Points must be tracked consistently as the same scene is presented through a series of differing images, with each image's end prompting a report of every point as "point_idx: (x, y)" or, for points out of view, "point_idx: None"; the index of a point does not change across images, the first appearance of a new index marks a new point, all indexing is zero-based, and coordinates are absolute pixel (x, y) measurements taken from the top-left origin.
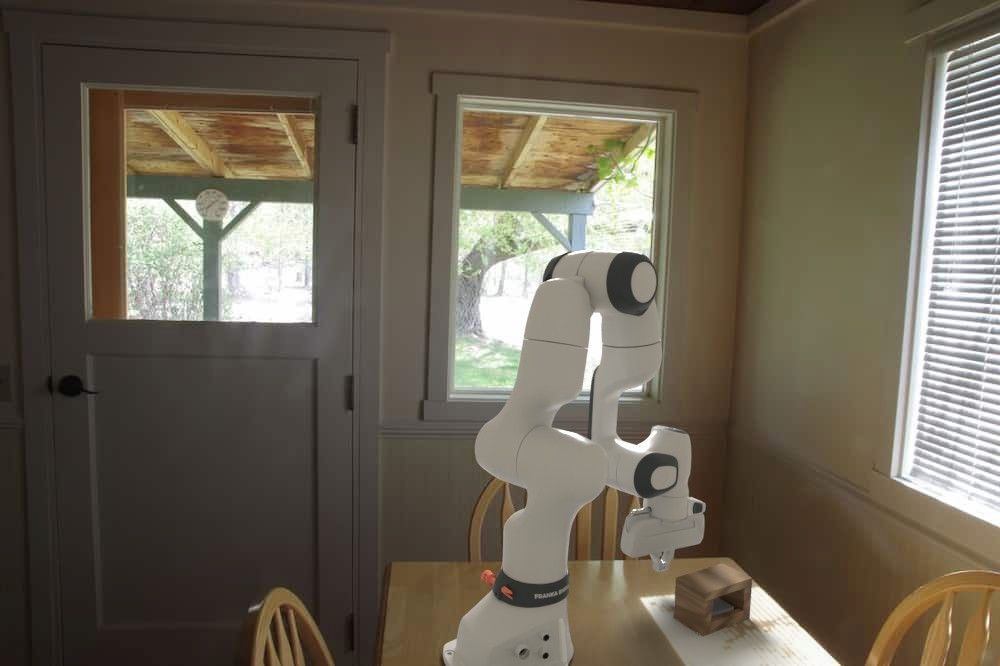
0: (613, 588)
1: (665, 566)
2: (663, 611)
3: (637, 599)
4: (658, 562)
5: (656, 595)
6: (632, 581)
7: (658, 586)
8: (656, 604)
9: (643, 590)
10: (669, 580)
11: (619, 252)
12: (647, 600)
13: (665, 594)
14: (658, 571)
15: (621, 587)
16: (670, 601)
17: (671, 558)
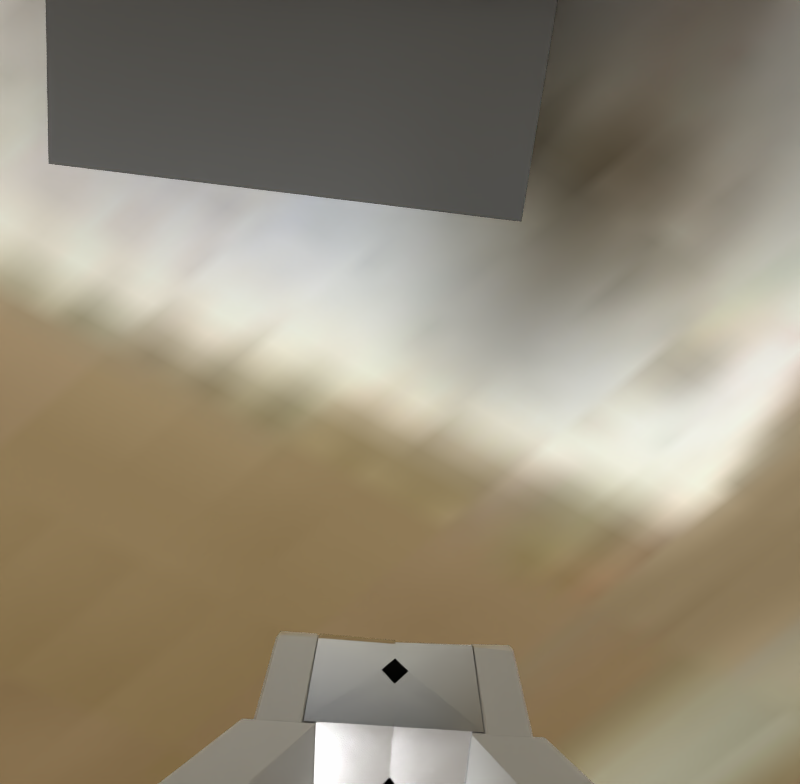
0: (754, 758)
1: (362, 676)
2: (747, 175)
3: (750, 506)
4: (574, 771)
5: (508, 466)
6: None
7: (329, 586)
8: (675, 330)
9: (539, 602)
10: (115, 617)
11: None
12: (682, 440)
13: (403, 432)
14: (512, 650)
15: (674, 738)
16: (484, 294)
17: (193, 766)
